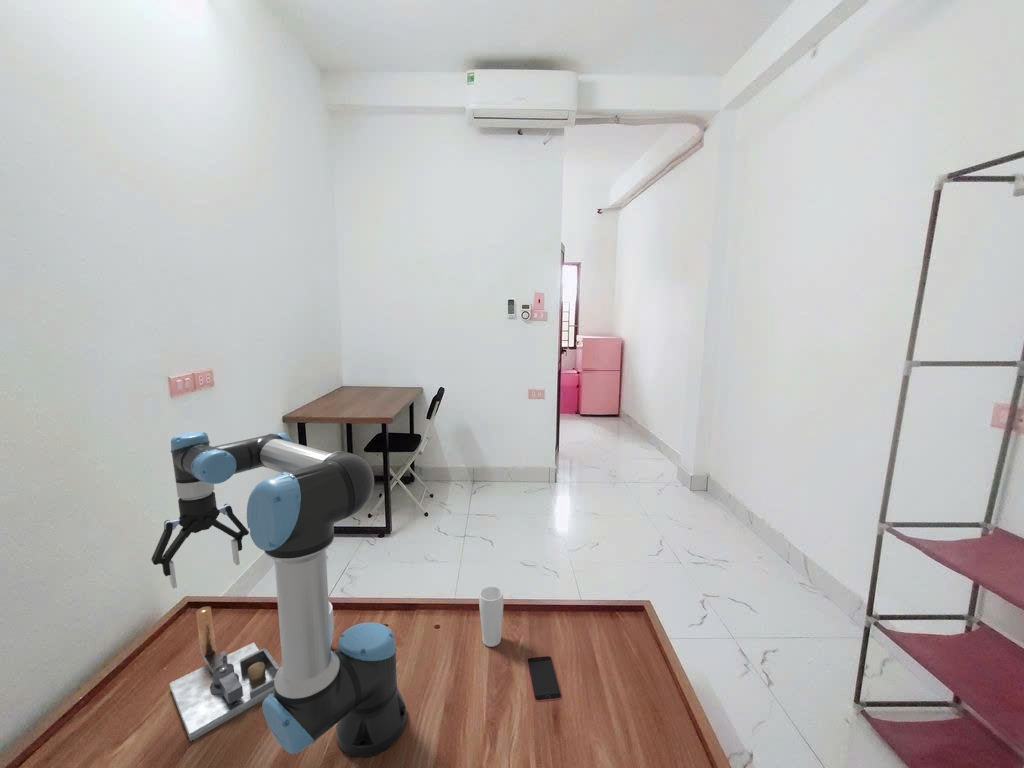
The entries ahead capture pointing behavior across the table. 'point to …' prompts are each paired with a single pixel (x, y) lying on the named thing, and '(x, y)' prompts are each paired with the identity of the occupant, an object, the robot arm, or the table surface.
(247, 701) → the grey flat slab fixture
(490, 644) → the white tall cup
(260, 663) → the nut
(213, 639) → the lever
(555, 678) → the smartphone
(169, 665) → the table surface
